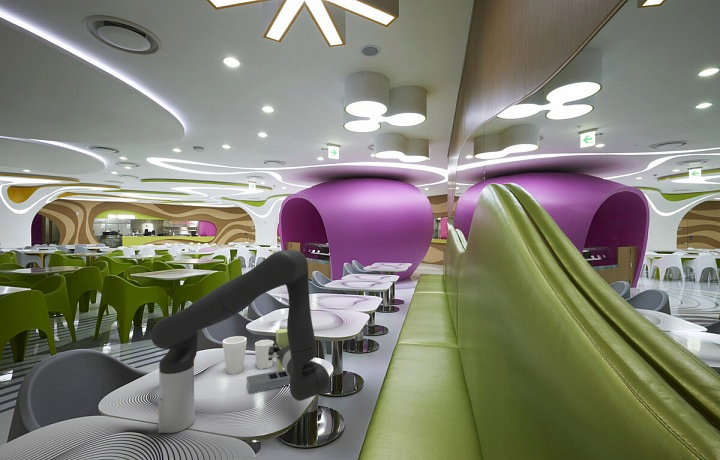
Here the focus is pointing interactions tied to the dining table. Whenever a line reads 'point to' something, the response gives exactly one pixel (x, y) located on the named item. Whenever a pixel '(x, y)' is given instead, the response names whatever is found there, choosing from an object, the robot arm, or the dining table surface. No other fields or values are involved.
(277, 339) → the olive green rectangular block
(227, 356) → the foam cup
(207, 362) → the dining table surface
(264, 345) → the white cup
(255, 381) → the grey flat block
